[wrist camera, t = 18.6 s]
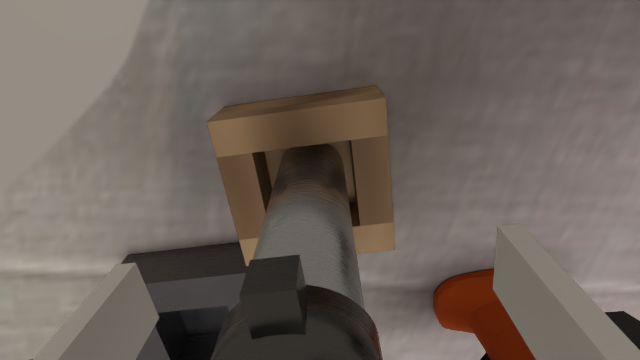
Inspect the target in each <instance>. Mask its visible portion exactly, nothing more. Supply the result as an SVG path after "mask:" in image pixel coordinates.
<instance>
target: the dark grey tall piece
mask: <svg viewBox="0 0 640 360" xmlns="http://www.w3.org/2000/svg"><path fill="white" fill-rule="evenodd" d="M239 297H240V302H239V303H238V304H237V305H236V306H235V307H234V308H233V309H232V310H231V311H230V312H229V314H228V315H227V316H226V318H225V320H224V322H223V324H222V327H221V330H220V333H219V336H218V339H217V342H216V345H215V348H214V351H213V354H212V357H211V360H383V359H382V353H381V347H380V342H379V336H378V331H377V329H376V326H375V324H374V322H373V320H372V319H371V317H370V316H369V315H368V313H367V312H366V311H365V310H364V305H363V297H362V290H361V283H360V276H359V269H358V262H357V255H356V248H355V241H354V234H353V227H352V220H351V213H350V206H349V199H348V192H347V185H346V178H345V171H344V164H343V161H342V158H341V156H340V154H339V153H338V152H337V150H336V149H335V148H333V147H332V146H331V145H329V144H327V143H324V144H316V145H309V146H301V147H293V148H289V149H288V150H287V151H286V152H285V154H284V155H283V157H282V160H281V163H280V167H279V170H278V173H277V177H276V180H275V184H274V187H273V191H272V194H271V197H270V201H269V204H268V208H267V211H266V215H265V218H264V221H263V225H262V228H261V232H260V235H259V238H258V242H257V245H256V249H255V252H254V256H253V259H252V260H250V261H249V265H248V268H247V271H246V275H245V278H244V281H243V285H242V288H241V291H240V295H239Z"/></svg>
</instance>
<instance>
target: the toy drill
mask: <svg viewBox="0 0 640 360" xmlns="http://www.w3.org/2000/svg"><path fill="white" fill-rule="evenodd" d="M493 278H494V270H486V271H479V272H473V273H467V274H463V275H459V276H456V277H453V278H451V279H449V280H447V281H445V282H443V283H442V284H441V285H440V286H439V287H438V289H437V290H436V292H435V296H434V310H435V314H436V316H437V318H438V321H439V323H440V324H441V325H442V326H443V327H444V328H446V329H451V330H457V331H464V332H469V333H475V335H476V336H477V338H478V340H479V341H480V343H481V344H482V346H483V347H484V349H485V351H486V354H485V355H484V356H483V357H482V358H481V360H536V359H535V357H534V356H533V354H532V352H531V351H530V349H529V347H528V346H527V344H526V342H525V341H524V339H523V338H522V336H521V334H520V333H519V331H518V329H517V328H516V326H515V324H514V323H513V321H512V319H511V318H510V316H509V315H508V313H507V311H506V310H505V308H504V306H503V305H502V303H501V301H500V300H499V298H498V297H497V295H496V293H495V292H494V290H493Z"/></svg>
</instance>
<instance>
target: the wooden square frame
mask: <svg viewBox="0 0 640 360" xmlns="http://www.w3.org/2000/svg"><path fill="white" fill-rule="evenodd" d="M207 126H208V129H209V133H210V136H211V140H212V144H213V147H214V151H215V155H216V158H217V162H218V165H219V169H220V173H221V176H222V180H223V184H224V187H225V191H226V194H227V198H228V202H229V205H230V209H231V213H232V216H233V220H234V223H235V227H236V231H237V234H238V238H239V242H240V245H241V249H242V252H243V256H244V260H245V263H246V266H248V265H249V261H250V260H252V259H253V256H254V252H255V249H256V245H257V242H258V238H259V235H260V232H261V228H262V225H263V221H264V218H265V215H266V211H267V208H268V204H269V201H270V197H271V194H272V191H273V187H274V184H275V180H276V177H277V173H278V170H279V167H280V163H281V160H282V157H283V155H284V154H285V152H286V151H287V150H288V149H289V148H293V147H301V146H309V145H316V144H324V143H327V144H329V145H331V146H332V147H333V148H335V149H336V150H337V152H338V153H339V154H340V156H341V158H342V161H343V164H344V171H345V178H346V185H347V192H348V199H349V206H350V213H351V220H352V227H353V234H354V241H355V248H356V254H361V253H370V252H379V251H388V250H395V238H394V222H393V205H392V188H391V171H390V154H389V138H388V121H387V104H386V97H385V96H384V95H383V94H382V92H381V91H380V90H379V89H378V88H377V86H371V87H364V88H356V89H349V90H342V91H335V92H327V93H320V94H313V95H306V96H298V97H291V98H284V99H277V100H270V101H262V102H255V103H248V104H241V105H233V106H226V107H223V108H222V109H221V110H220V111H219V112H218V113H217V114H215V115H214V116H213V117H212V118H211V119H210V120H209V121H208V122H207Z"/></svg>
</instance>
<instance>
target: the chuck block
mask: <svg viewBox="0 0 640 360" xmlns="http://www.w3.org/2000/svg"><path fill="white" fill-rule="evenodd" d="M127 263H136V264H137V267H138V269H139V271H140V274H141V276H142V278H143V281H144V283H145V285H146V288H147V290H148V292H149V295H150V297H151V299H152V302H153V304H154V306H155V309H156V311H157V313H158V316H159V319H158V321H157V323H156V324H155V326H154V328H153V330H152V331H151V333H150V335H149V337H148V338H147V340H146V342H145V344H144V345H143V347H142V349H141V351H140V352H139V354H138V356H137V358H136V360H211V357H212V354H213V351H214V348H215V345H216V342H217V339H218V336H219V333H220V330H221V327H222V324H223V322H224V320H225V318H226V316H227V315H228V314H229V312H230V311H231V310H232V309H233V308H234V307H235V306H236V305H237V304H238V303H239V302H240V297H239V295H240V291H241V288H242V285H243V281H244V278H245V275H246V271H247V268H248V266H246V263H245V260H244V256H243V252H242V249H241V245H240V242H238V243H229V244H220V245H212V246H203V247H194V248H186V249H177V250H168V251H159V252H151V253H142V254H133V255H128V256H127V257H126V258H125V259H124V261H123V262H122V263H121V264H127Z"/></svg>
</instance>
